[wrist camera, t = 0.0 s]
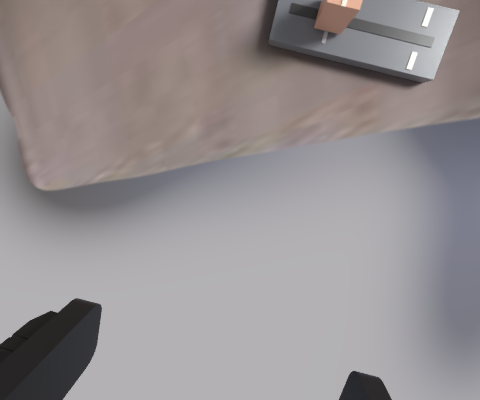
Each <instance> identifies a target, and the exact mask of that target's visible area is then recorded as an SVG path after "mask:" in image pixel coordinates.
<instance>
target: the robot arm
mask: <svg viewBox="0 0 480 400" xmlns="http://www.w3.org/2000/svg"><path fill="white" fill-rule="evenodd" d="M101 310H102V307H101V305H100V304H97V303H93V302H89V301H86V300H82V299H77V298H76V299H74V300H72V301H71V302H70V303H69V304H68V305H66V306H65V307H64V308H63V309H62V310H61V311H60V312H58V313H56V312H53V311H50V312H48V313H46V314H43V315H41V316H39V317H37V318H35V319H32V320H30V321H29V322H28V323H26V324H25V325H24V326H23V327H21V328H20V329H19V330H18V331H16V332H15V333H14V334H13V335H12V337H11V338H10V337H9V338H8V339H6V340H5V341H4V342H3V343H2V344H0V400H63V398H64V397H65V396H66V394H67V393H68V391H69V390H70V389H71V388H72V386H73V385H74V384H75V382H76V381H77V380H78V378H79V377H80V375H81V374H82V373H83V372H84V370H85V369H86V367H87V366H88V364H89V363H90V361H91V359H92V357H93V355H94V352H95V349H96V346H97V340H98V333H99V325H100V318H101ZM339 400H392V399H391V397H390V395H389V394H388V391H387V389H386V387H385V385H384V384H383V382H382V380H381V379H380V378H378V377H375V376H371V375H368V374H364V373H360V372H356V371H353V372H351V373H350V375H349V377H348V379H347V381H346V384H345V386H344V389H343V391H342V393H341V396H340V398H339Z"/></svg>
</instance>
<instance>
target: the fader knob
mask: <svg viewBox="0 0 480 400" xmlns="http://www.w3.org/2000/svg"><path fill="white" fill-rule="evenodd" d="M362 1H363V0H321V3H320V7H319V11H318V14H317V18H316V21H315V25H314V28H316V29H320V30H324V31H328V32H332V33H336V34H341V33H342V32H343V31H344V29H345V28H346V27H347V25H348V24H349V23H350V22H351V20H352V19H353V18H354V17H355V15H356V14H357V13H358V12H359V10H360V8H361V4H362Z"/></svg>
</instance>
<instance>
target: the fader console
mask: <svg viewBox="0 0 480 400" xmlns="http://www.w3.org/2000/svg"><path fill="white" fill-rule="evenodd" d="M320 3H321V0H278V4H277V8H276V12H275V16H274V21H273V25H272V29H271V33H270V37H269V44H268V45H271V46H275V47H279V48H283V49H287V50H291V51H295V52H299V53H303V54H307V55H311V56H315V57H320V58H324V59H328V60H332V61H336V62H340V63H344V64H348V65H352V66H356V67H360V68H364V69H368V70H372V71H376V72H380V73H384V74H388V75H392V76H396V77H400V78H404V79H409V80H413V81H417V82H421V83H425V82H428V81H431V80H433V79H434V76H435V74H436V71H437V68H438V66H439V63H440V61H441V58H442V55H443V53H444V50H445V48H446V45H447V42H448V40H449V37H450V35H451V32H452V29H453V27H454V24H455V22H456V19H457V16H458V14H459V11H458V10H454V9H450V8H446V7H442V6H438V5H434V4H430V3H426V2H422V1H417V0H363V1H362V4H361V8H360V10H359V12H358V13H357V14H356V15H355V17H354V18H353V19H352V20H351V22H350V23H349V24H348V25H347V27H346V28H345V29H344V31H343V32H342V33H341V34H336V33H332V32H328V31H324V30H320V29H316V28H314V25H315V21H316V18H317V14H318V11H319V7H320Z"/></svg>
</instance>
